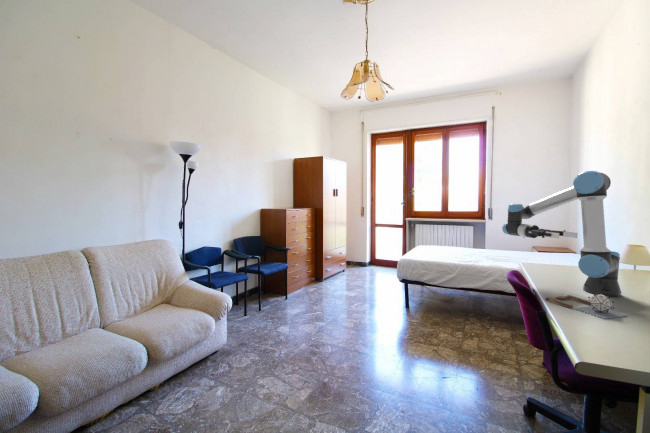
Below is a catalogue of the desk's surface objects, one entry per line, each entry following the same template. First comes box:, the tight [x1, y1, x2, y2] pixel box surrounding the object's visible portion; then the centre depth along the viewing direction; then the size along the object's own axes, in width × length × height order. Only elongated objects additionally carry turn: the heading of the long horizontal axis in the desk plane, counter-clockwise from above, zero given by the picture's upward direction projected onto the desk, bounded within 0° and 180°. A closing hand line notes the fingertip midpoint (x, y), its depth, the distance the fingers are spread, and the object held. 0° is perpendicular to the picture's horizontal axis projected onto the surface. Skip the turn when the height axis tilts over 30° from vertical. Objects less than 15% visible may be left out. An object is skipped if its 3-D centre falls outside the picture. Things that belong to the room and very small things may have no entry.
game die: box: [588, 292, 615, 313], centre depth 132 cm, size 9×8×10 cm
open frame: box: [545, 294, 591, 309], centre depth 145 cm, size 16×11×2 cm
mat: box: [573, 305, 628, 320], centre depth 133 cm, size 14×12×1 cm
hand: (567, 235), depth 156 cm, fingers open, 13 cm apart
